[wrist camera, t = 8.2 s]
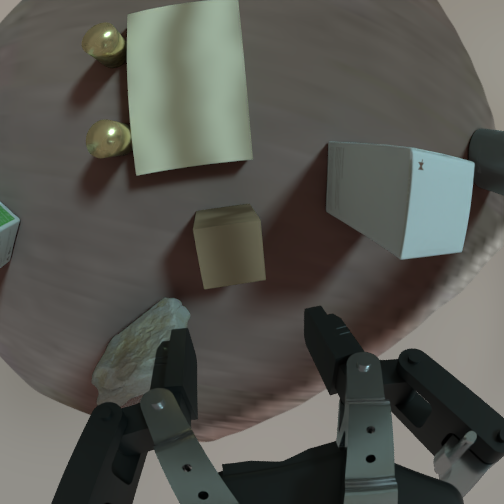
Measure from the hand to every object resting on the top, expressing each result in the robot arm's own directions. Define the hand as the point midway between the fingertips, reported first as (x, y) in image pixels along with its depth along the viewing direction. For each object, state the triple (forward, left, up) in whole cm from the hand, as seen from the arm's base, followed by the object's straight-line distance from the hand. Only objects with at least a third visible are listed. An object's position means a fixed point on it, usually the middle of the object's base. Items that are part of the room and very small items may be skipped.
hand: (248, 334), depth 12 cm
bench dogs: (+8, -15, -15) cm, 23 cm away
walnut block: (0, 0, -16) cm, 16 cm away
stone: (+11, +10, -16) cm, 22 cm away
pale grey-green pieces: (+2, -15, -16) cm, 22 cm away
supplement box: (-14, -4, -16) cm, 21 cm away
